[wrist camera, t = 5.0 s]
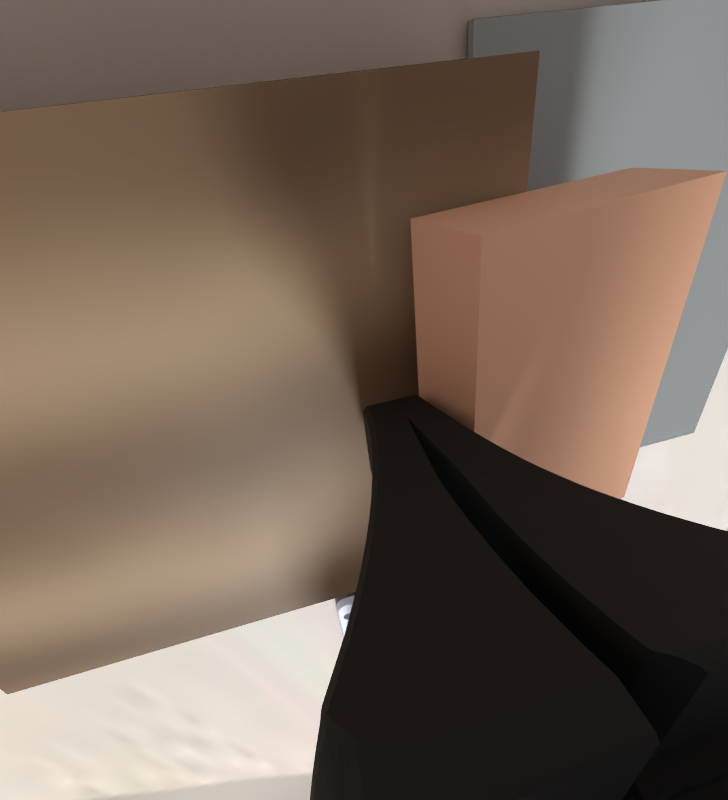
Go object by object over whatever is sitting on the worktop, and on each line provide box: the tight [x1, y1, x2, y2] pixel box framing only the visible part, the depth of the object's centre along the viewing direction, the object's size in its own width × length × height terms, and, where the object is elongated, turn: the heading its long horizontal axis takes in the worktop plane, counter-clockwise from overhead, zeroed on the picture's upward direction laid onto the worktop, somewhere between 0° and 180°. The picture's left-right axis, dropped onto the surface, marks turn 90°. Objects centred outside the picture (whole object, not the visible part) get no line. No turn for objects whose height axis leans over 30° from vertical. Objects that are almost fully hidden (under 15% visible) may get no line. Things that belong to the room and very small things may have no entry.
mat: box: [468, 0, 728, 447], centre depth 16 cm, size 16×12×1 cm
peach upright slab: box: [410, 167, 727, 499], centre depth 11 cm, size 9×6×2 cm, turn 6°
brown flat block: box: [0, 50, 540, 694], centre depth 12 cm, size 14×16×4 cm
